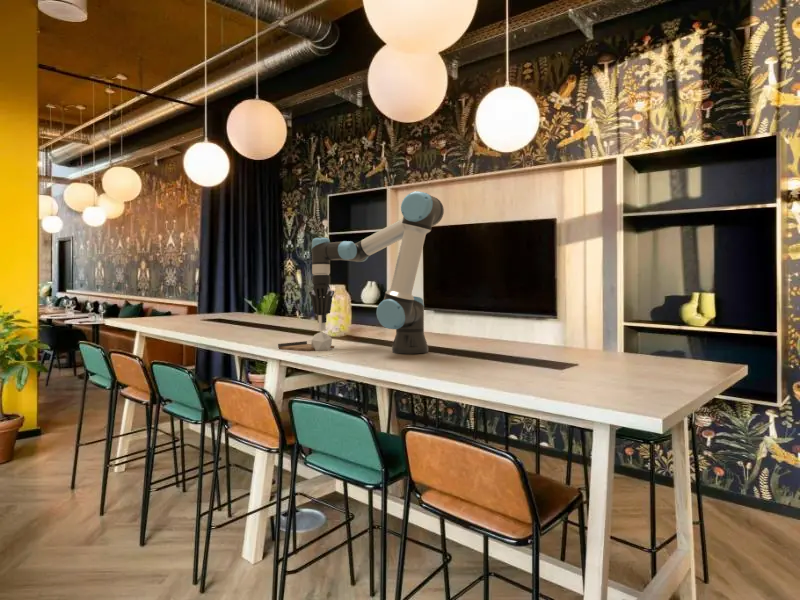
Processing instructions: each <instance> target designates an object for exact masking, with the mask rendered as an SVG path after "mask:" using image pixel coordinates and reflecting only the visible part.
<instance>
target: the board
mask: <svg viewBox="0 0 800 600" xmlns="http://www.w3.org/2000/svg"><path fill="white" fill-rule="evenodd" d="M311 344H312V343H308V341H307V340H306V341H305V340H304V341H296V342H295V341H293V342H285V343H277V346H278V347H277V349H278V348H279V349H278V350H286V351H287V350H288V351H300V352H301V351H302V352H312V351H315V348H312V347H311ZM330 348H331V349H335V345H331V347H330Z"/></svg>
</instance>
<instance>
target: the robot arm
mask: <svg viewBox="0 0 800 600" xmlns="http://www.w3.org/2000/svg"><path fill="white" fill-rule="evenodd" d="M400 205H401V206H400V212H401V214H402V218H401V219H399V220H397V221H395V222H393V223H391V224H389V225H388V226H386V227H383V228H382V229H380V230H378V231H376V232H374V233H372V234H371V235H369V236H366V237H365V238H364V239H363V238H362V239H361V240H360V241H358V242H356V243H354V242H353V241H351V240H350V241H349V240H348V241H347V240H343V241H335V242H333V241H332V242H331V241H330V238H327V237H315V238H313V239H312V241H311V260H312V264H311V267H312V269H311V273H312V279H311V281H312V284H313V287H312V288H313V289H312V290H310V291H309V292H308V294H309V297H310V300H311V306H312V310H313V314H314V315H315V314H316V316H317V323H318V331H319V332H323V331H326V328H327V325H326V324H327V315H329V314H330V313H331V309H332V305H333V304H332V303H333V297H334V294H335V291H334V290H331V286H330V284H331V275H330V274H331V261H347V262H348V261H350V262H355V263H361V262H365V261H367V260H368V259H369V257H370V256H371V255H374V254H376V253H377V252H380V251H382V250H383V249H385V248H387V247H390V246H392V245H394V244H396V243H397V242H399V241H401V243H400V247H399V252H398V256H397V260H396V263H395V266H394V268H395V269H394V271H393V275H392V276H393V277H392V279H391V284H390V289H388V290H387V291H385V294H384V298H383V300H382V301H380V303H379V304H378V306H377V307H376V318H377V320H378V322H379V324H380V325H381V326H382V327H384V328H385V329H389V330H395V336H394V339H393V343H392V346H391V352H392V353H394V354H407V355H408V354H409V355H410V354H411V355H412V354H425V353H426V354H427V353H429V346H428V342H427V339H426V336H425V322H424V321H425V311H424V310H425V303H424V299H423V298H422V297H419V296H417V295H416V296H414V295H413V289H414V285H415V281H416V277H417V273H418V268H419V265H420V260H421V257H422V252H423V247H424V244H425V240H426V235H427V234H429V233H430V232H431V231H432V229H433V228H432V227H434V226H436V225H437V224H439V222H441V221H442V219H443V216H444V212H445V209H444V208H445V207H444V205H443V203H442V202H441V201H440V199H438V198H437V197H435V196H433V195H431V194H429V193H427V192H424V191H412V192H410V193H409V194H407V195H406V196H405V197H404V198H403V200H402V202H401V204H400Z"/></svg>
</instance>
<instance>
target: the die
mask: <svg viewBox="0 0 800 600" xmlns="http://www.w3.org/2000/svg"><path fill="white" fill-rule="evenodd" d="M332 341H333V338H332V337H331V336H330V335H328V334H327V333H326V332H323V331H319V332H317V333H315V334H314V335H313V337H312V338H311V343H310V344H311V347H312V348H315V350H314V351H316V352H317V351H318V352H319V351H320V352H321V351H323V352H325V351H330V350H331V349H330V347H331V346H332V343H333V342H332Z"/></svg>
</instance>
